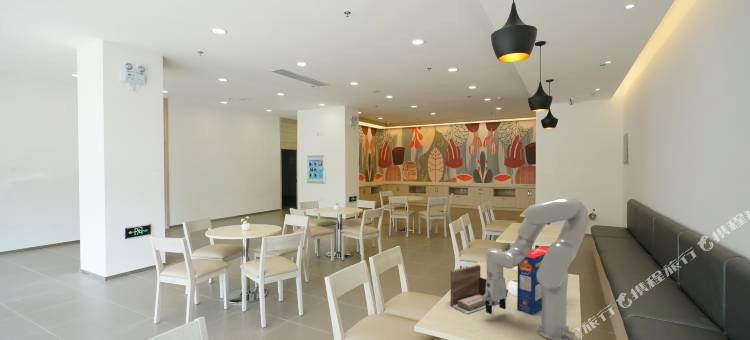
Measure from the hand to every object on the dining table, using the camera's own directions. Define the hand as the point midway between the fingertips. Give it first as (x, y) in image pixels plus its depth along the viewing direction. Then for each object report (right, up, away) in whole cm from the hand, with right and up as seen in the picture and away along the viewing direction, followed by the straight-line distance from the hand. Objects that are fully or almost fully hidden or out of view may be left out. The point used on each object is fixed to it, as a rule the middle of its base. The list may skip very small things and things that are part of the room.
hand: (495, 310), depth 171 cm
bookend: (+3, -3, +20) cm, 20 cm away
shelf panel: (-10, -3, +19) cm, 21 cm away
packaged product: (-8, -4, +12) cm, 15 cm away
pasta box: (+27, -3, +15) cm, 31 cm away
